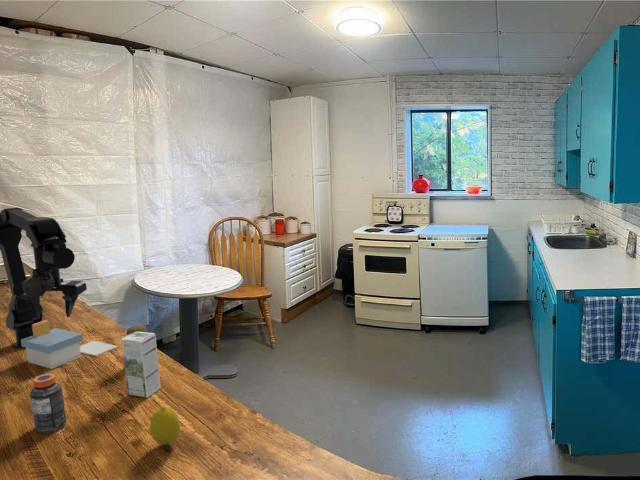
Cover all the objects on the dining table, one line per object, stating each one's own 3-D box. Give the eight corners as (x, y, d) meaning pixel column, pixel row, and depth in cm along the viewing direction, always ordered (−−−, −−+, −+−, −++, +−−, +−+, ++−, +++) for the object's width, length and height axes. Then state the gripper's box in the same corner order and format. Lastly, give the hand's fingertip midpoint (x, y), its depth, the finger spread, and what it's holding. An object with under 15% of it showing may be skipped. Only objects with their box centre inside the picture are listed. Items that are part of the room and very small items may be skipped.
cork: (144, 369, 133) (140, 330, 131) (123, 368, 134) (119, 330, 132) (155, 360, 139) (152, 323, 137) (136, 359, 140) (132, 322, 138)
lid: (21, 346, 140) (19, 327, 139) (56, 334, 149) (54, 316, 148) (48, 353, 134) (45, 334, 133) (82, 340, 143) (80, 322, 142)
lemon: (156, 438, 100) (152, 401, 99) (183, 435, 101) (180, 399, 99) (149, 454, 95) (145, 415, 93) (178, 451, 95) (175, 413, 94)
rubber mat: (72, 350, 148) (71, 349, 148) (94, 341, 155) (93, 340, 155) (96, 356, 143) (96, 355, 143) (117, 347, 150) (117, 346, 150)
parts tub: (27, 362, 141) (25, 342, 140) (57, 350, 149) (55, 331, 148) (51, 368, 136) (48, 348, 135) (81, 356, 143) (78, 337, 142)
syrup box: (161, 387, 122) (156, 331, 120) (146, 399, 117) (140, 340, 114) (142, 385, 124) (137, 329, 121) (126, 396, 118) (120, 338, 116)
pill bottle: (59, 416, 110) (53, 368, 108) (71, 424, 106) (65, 375, 104) (30, 428, 106) (23, 378, 104) (42, 437, 102) (35, 386, 100)
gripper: (-6, 270, 131) (2, 326, 134) (62, 271, 130) (68, 327, 133) (22, 260, 142) (28, 312, 145) (84, 261, 141) (90, 313, 144)
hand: (53, 316), depth 142 cm, fingers open, 9 cm apart
